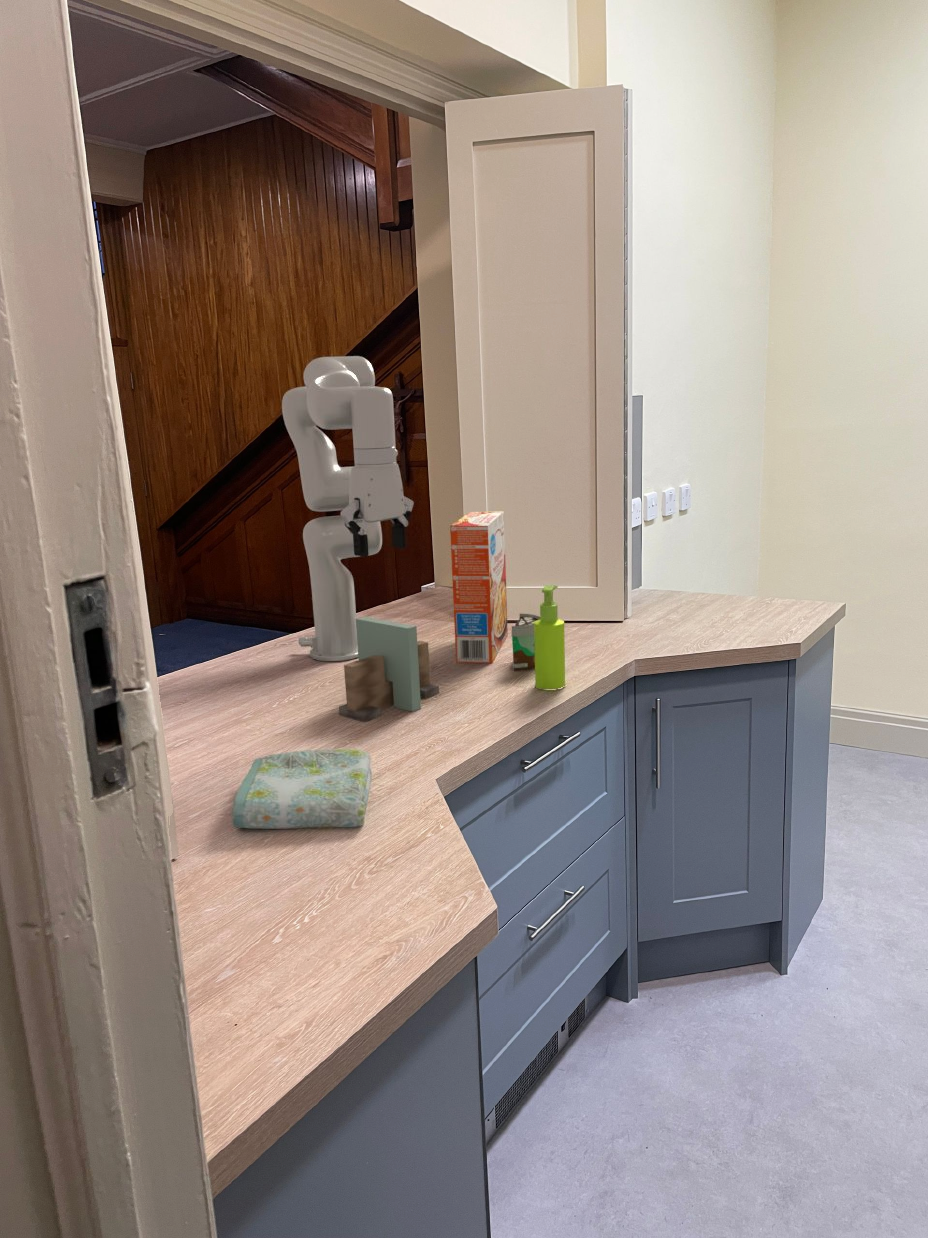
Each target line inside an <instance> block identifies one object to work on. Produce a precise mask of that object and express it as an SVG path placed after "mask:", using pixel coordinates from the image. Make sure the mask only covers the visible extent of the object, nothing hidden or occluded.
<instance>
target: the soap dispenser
mask: <svg viewBox="0 0 928 1238" xmlns="http://www.w3.org/2000/svg"><path fill="white" fill-rule="evenodd" d="M558 587H559V586H558V585H556V584H555V585H552V584H551V585H550V584H547V585H545V586H544V587H542V589H541V593H543V595H544V596H543V602H542V603H541V604H540V605H539V611H540V613H539V614H540V616H539V617H540V620H537V621H535V622H534V642H535V669H534V675H535V676H534V677H535V680H534V681H535V688H536V687H537V688H536V689H538V688H540V689H539V690H541V689H558V688H561V687H563V686H565V687H566V658H565V657H566V655H565V653H566V649H565V644H566V643H565V621H564V620H562V619H560V618H558V616H559V615H558V614H559V613H558V609H559V608H558V604H557V603H556V602H554V591H555V590H556V589H559V588H558Z"/></svg>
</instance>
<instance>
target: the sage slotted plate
mask: <svg viewBox="0 0 928 1238" xmlns="http://www.w3.org/2000/svg"><path fill="white" fill-rule="evenodd" d="M356 629H357V644H358V657H357V658H358V660H361V659H364V658H368V657H371V656H374V655H378V656H382V657H384V671H385V680H388V681H392V682H393V696H394V705H393V707H394V708H397V709H400V710H404V711H408V712H412V713H413V712H416V711H418V710H421V709H422V706H421V697H420V682H419V664H418V645H417V642H418V633H417V632H418V631H417V629H418V628H417V625H412V624H407V623H401V622H395V621H392V620H387V619H386V620H385V619H380V618H374V617H369V616H362V617H358V618H357V617H356Z"/></svg>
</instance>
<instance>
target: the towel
mask: <svg viewBox="0 0 928 1238" xmlns="http://www.w3.org/2000/svg"><path fill="white" fill-rule="evenodd" d="M371 759H372V757H371V756H370V754H369V753H368V752H367V751H365V750H363V749H356V748H336V749H335V748H333V749H310V750H296V751H288V752H287V751H286V752H282V753H281V752H280V753H271V754H268V755H266V756H265V755H264V756H263V757H257V758H256V759H254V760H253V762H252V764H251V767H250V768H249V771H248V773H247V774H246V775H245V777H244V779H243V780H242V782H241V784H240V786H239V789H238V790H237V793H236V795H235V797H234V800H233V807H232V810H231V812H232V819H231V821H232V825H233V827H235V828H239V829H243V828H245V829H258V830H259V829H265V830H266V829H270V830H271V829H272V830H273V829H274V830H279V829H308V828H311V829H312V828H314V829H315V828H357V827H363V826H364V824H365V821H366V820H365V819H366V816H365V815H366V810H367V806H368V800H369V794H370V789H371V783H372V769H371Z"/></svg>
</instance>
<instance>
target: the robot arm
mask: <svg viewBox="0 0 928 1238" xmlns="http://www.w3.org/2000/svg"><path fill="white" fill-rule="evenodd" d="M303 382H304V385H305V386H298V387H295V388H291V389H289V390H287V391H286V392H285V393H284V395H283V397H282V400H281V410H282V417H283V421H284V425H285V428H286V430H287V432H288V434H289V437H290V439H291V441H292V443H293V445H294V448H295V450H296V454H297V460H298V466H299V467H298V468H299V472H300V473H299V474H300V480H301V487H302V493H303V499H304V501H305V504H306V507H307V508H308V509H309V510H311V511H314V512H334V511H340V515H332V516H331V515H330V516H321V517H318V518H314V519H311V520H310V521H308V522H307V523H306V524H305V525H304V527H303V530H302V531H303V532H302V539H303V544H304V549H305V552H306V557H307V562H308V566H309V575H310V576H309V577H310V585H311V586H310V587H311V595H312V597H311V600H312V611H313V612H312V613H313V621H314V622H313V623H314V635H312V636H310V637H309V636H299V637H298V645H299V646H300V647H301V648H302V647H305V648H307V647H310V648H311V649H310V651H309V656H310V658H311V659H312V660H315V659H316V660H315V661H320V662H341V661H349V660H353V659H355V658H356V659H357V658H358V644H357V629H356V619H357V612H356V611H357V610H356V595H355V594H356V593H355V583H354V577H353V575H352V572H351V571H350V570H349V569H348V568H347V567H346V565H344V564H343V563H342V561H341V560H343V559H344V560H345V559H348V558H358V557H363V558H364V557H368V556H372V555H376V554H378V553H379V552H380V550H381V549H382V545H383V532H382V525H381V522H383V521H389V520H390V521H391V523H392V524H393V525H392V526H391V544H392V545H391V546H392V547H393V548H396V549H406V548H407V546H408V545H407V530H406V529H407V528H406V527H408V526H409V520H410V518H411V517H412V510H413V507H414V503H415V502H414V501H413V500H412V499H410V498H408V497H406V496H405V495H404V486H403V481H402V477H401V476H402V475H401V471H400V467H399V464H398V463H397V457H398V456H399V451H398V450H397V449H396V448H397V447H396V429H395V413H394V398H393V397H394V396H393V393H392V391H391V390H390V389H389V387H388V388H387V387H385V386H383V387H381V386H375V384H376V376H375V372H374V367H373V365H372V363H370V361H369V360H368V359H366V358H365V357H363V356H360V355H353V356H352V355H351V356H350V355H348V356H347V355H346V356H322V357H318V358H315V359H312V360H311V361H309V363H308V364H307V365H306V366H305V369H304V371H303ZM317 426H318V427H317ZM319 428H321V429H323V430H328V431H329V430H331V431H333V430H347V429H350V430H351V429H352V440H353V442H352V443H353V457H354V458H353V459H354V465H353V466H344V467H343V466H340V465H339V464H338V458H337V451H336V447H335V444H334V443H333V442H332V440H331V439H330V438H329V436H327V435H326V434H325V433H324V432H323V431H322V430H321V429H319Z"/></svg>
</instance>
